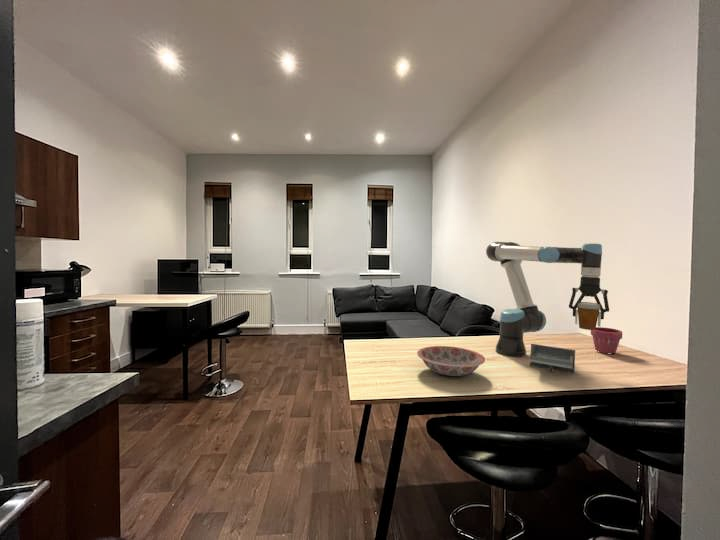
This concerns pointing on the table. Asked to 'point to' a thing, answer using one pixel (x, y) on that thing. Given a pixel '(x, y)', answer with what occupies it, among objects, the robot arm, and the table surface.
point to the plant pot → (606, 339)
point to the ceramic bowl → (451, 360)
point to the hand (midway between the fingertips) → (587, 324)
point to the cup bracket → (552, 358)
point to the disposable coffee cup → (588, 315)
